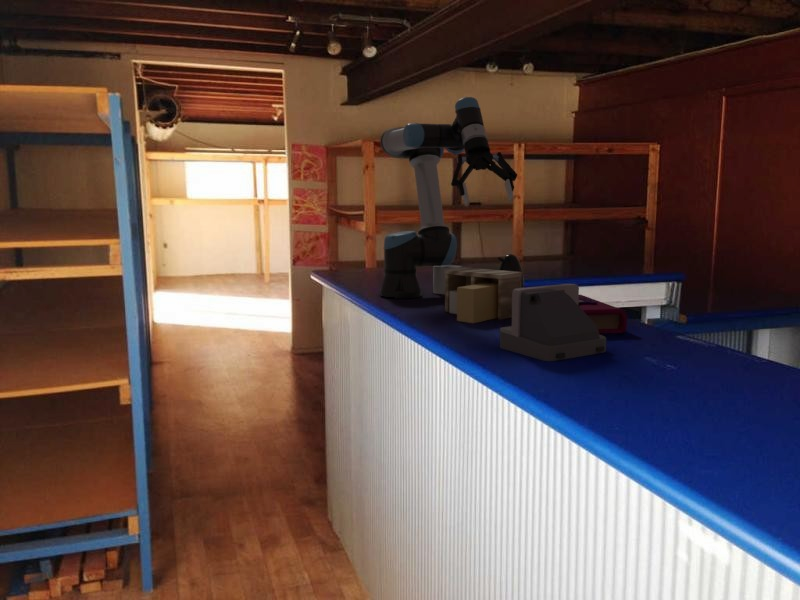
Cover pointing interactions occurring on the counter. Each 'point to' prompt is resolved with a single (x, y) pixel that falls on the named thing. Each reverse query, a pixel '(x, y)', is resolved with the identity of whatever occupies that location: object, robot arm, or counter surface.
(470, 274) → the shelf unit
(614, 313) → the book
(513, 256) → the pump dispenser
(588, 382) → the counter surface
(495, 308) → the box
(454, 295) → the box
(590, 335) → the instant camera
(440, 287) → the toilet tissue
